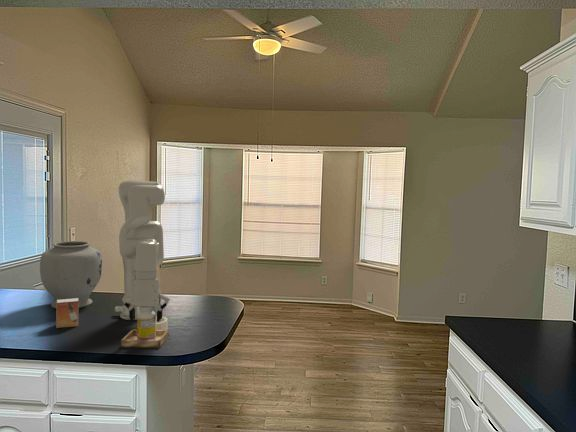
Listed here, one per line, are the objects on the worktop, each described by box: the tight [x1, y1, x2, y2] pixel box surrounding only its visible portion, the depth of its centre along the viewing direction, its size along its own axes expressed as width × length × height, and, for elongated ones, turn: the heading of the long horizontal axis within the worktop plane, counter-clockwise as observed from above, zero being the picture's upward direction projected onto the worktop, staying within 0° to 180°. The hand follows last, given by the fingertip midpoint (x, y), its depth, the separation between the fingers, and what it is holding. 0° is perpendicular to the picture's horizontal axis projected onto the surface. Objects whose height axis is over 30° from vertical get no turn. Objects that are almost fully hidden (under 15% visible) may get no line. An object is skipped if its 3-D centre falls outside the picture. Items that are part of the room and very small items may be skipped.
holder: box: [156, 315, 169, 330], centre depth 170 cm, size 11×11×4 cm
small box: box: [55, 298, 80, 329], centre depth 172 cm, size 8×6×10 cm
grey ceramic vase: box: [39, 240, 103, 309], centre depth 202 cm, size 27×27×30 cm
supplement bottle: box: [136, 307, 157, 340], centre depth 157 cm, size 7×7×13 cm
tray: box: [120, 328, 170, 349], centre depth 157 cm, size 14×12×2 cm
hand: (145, 320), depth 156 cm, fingers open, 9 cm apart
